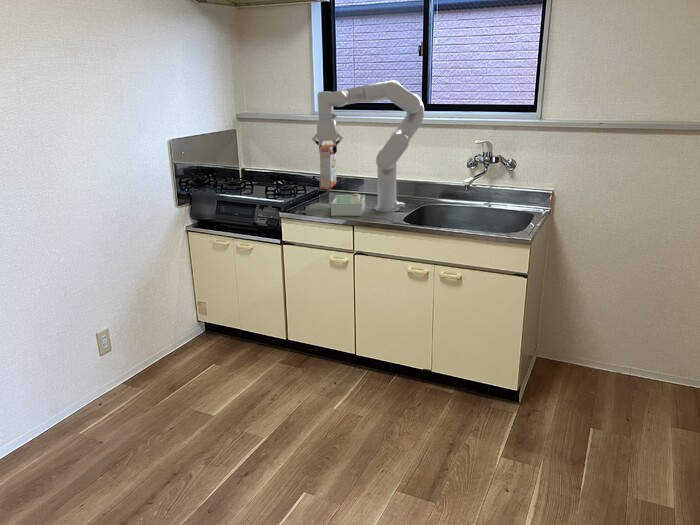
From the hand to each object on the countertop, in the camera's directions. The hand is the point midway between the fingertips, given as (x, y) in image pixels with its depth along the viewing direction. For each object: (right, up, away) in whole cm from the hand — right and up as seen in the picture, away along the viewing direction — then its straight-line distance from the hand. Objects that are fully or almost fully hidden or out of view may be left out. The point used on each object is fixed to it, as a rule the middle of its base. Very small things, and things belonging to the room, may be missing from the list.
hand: (328, 153), depth 288 cm
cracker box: (0, -16, +6) cm, 17 cm away
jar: (+14, -29, +3) cm, 32 cm away
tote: (+10, -29, +4) cm, 31 cm away
